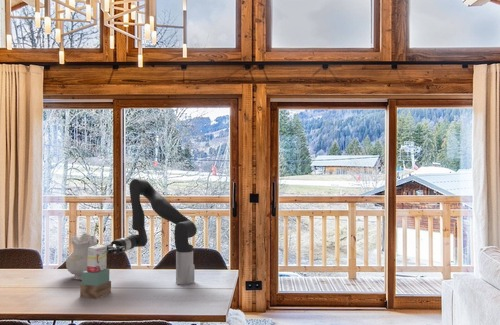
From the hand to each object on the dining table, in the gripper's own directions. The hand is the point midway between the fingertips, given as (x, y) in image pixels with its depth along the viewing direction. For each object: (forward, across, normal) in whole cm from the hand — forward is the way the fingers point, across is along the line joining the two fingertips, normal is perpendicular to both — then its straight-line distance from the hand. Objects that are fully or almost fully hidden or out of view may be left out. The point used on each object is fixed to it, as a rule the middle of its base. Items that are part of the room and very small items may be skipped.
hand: (101, 251), depth 197 cm
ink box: (+3, 0, +9) cm, 9 cm away
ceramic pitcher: (-21, -26, +21) cm, 39 cm away
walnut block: (+3, 0, +21) cm, 21 cm away
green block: (+4, 0, +15) cm, 15 cm away
